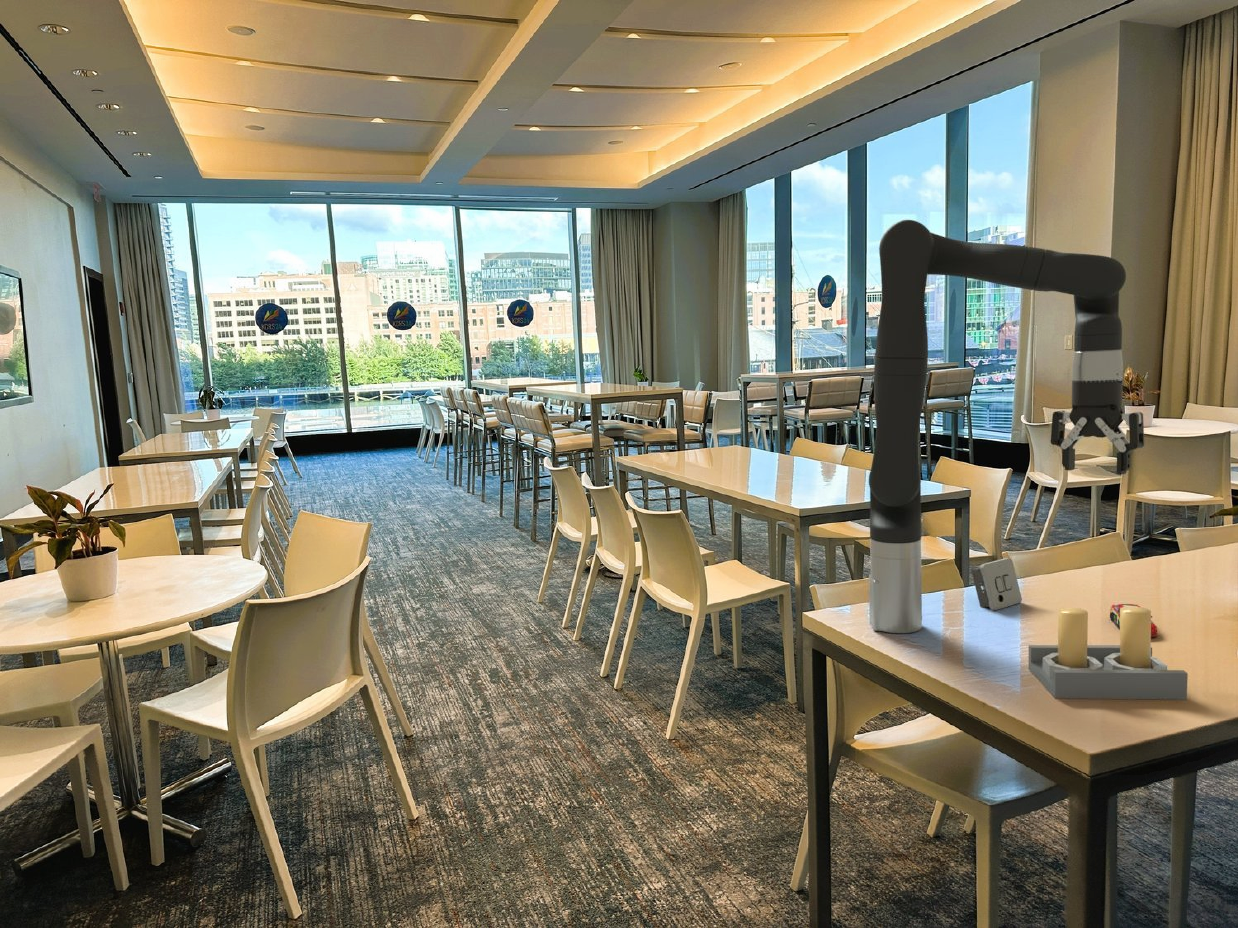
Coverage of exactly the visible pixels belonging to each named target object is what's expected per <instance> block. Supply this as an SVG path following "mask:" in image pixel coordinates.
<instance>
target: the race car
mask: <svg viewBox="0 0 1238 928" xmlns="http://www.w3.org/2000/svg"><path fill="white" fill-rule="evenodd" d="M1122 607H1141V606H1140V605H1138V604H1133V603H1114V604H1112V605H1111V606H1110V611H1109V618H1110V621H1111V622H1112V623H1113V624H1114V626H1116V627H1117V628H1118V629H1119V630H1120V608H1122ZM1152 618H1153V615H1151V619H1152ZM1157 635H1158V628H1157V625H1155V623H1154V622H1153V620H1151V638H1156V637H1157Z"/></svg>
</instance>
